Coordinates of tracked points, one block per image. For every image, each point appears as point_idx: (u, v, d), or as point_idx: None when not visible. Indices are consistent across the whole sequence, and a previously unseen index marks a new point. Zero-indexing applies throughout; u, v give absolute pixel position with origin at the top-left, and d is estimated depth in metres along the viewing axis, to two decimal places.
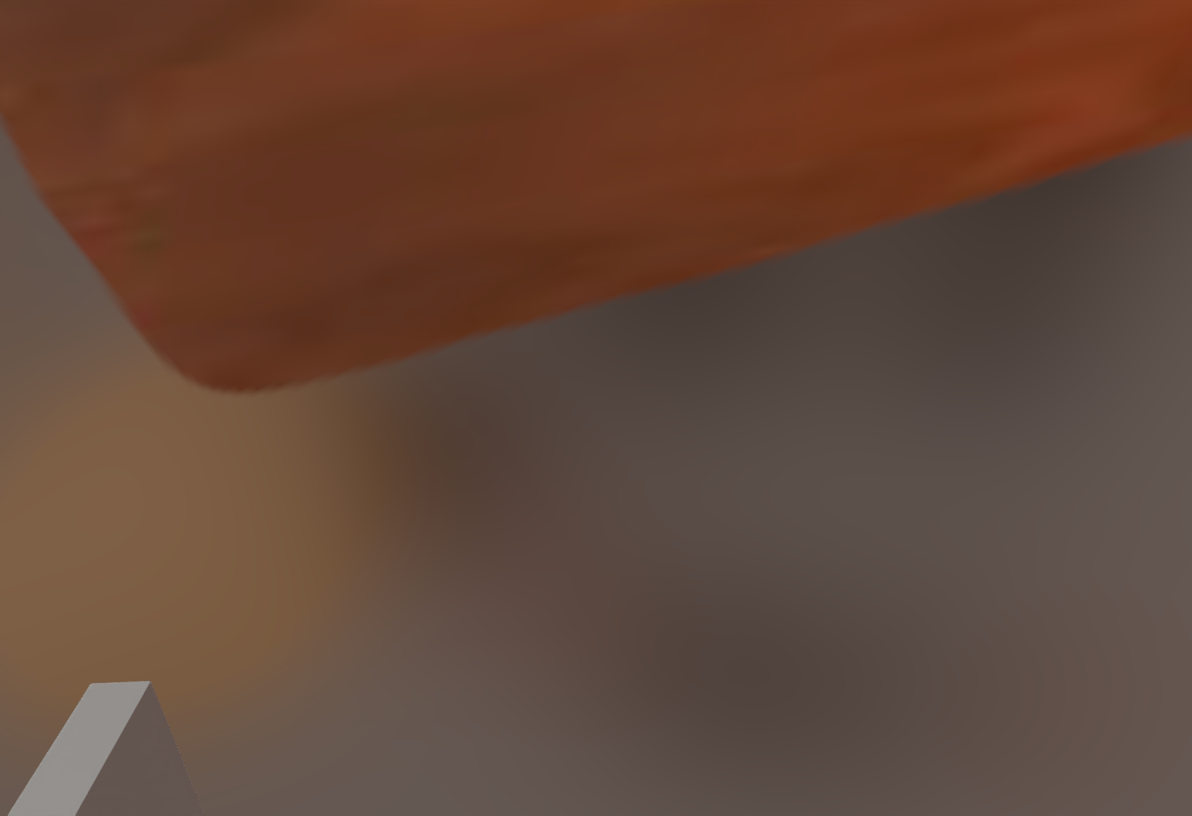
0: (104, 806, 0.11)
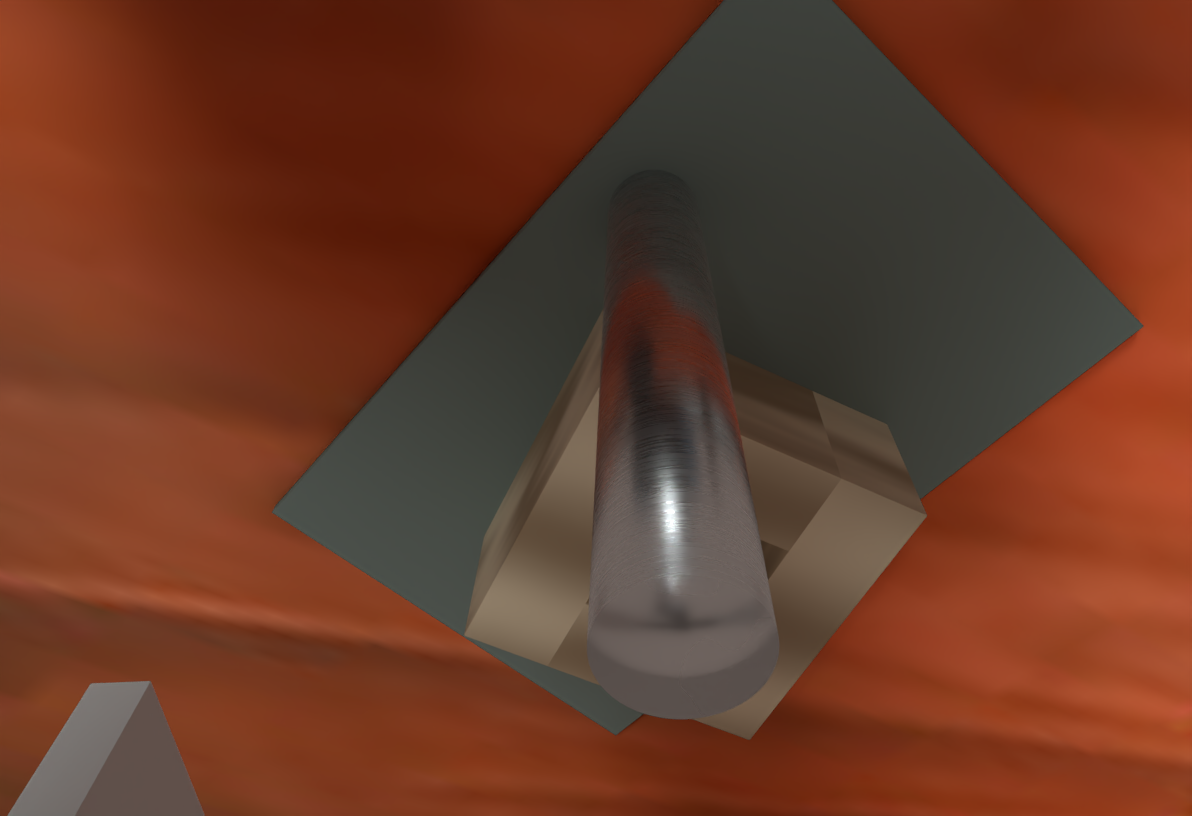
0: (104, 806, 0.11)
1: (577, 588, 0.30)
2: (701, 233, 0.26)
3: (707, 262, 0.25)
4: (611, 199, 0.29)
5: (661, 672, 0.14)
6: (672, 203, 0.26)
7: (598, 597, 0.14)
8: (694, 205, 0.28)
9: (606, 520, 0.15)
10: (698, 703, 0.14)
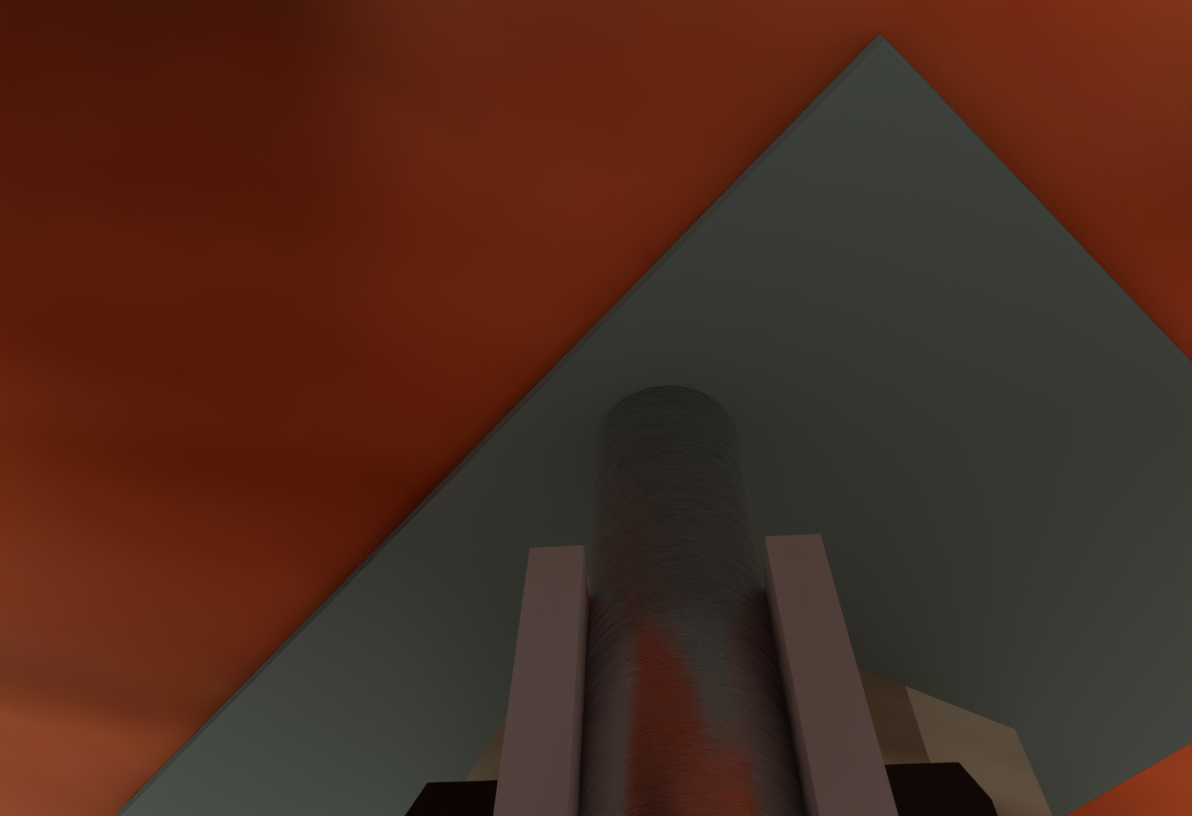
0: (580, 642, 0.13)
1: None
2: (752, 526, 0.15)
3: None
4: (601, 429, 0.18)
5: None
6: (702, 476, 0.15)
7: None
8: (736, 454, 0.17)
9: None
10: None
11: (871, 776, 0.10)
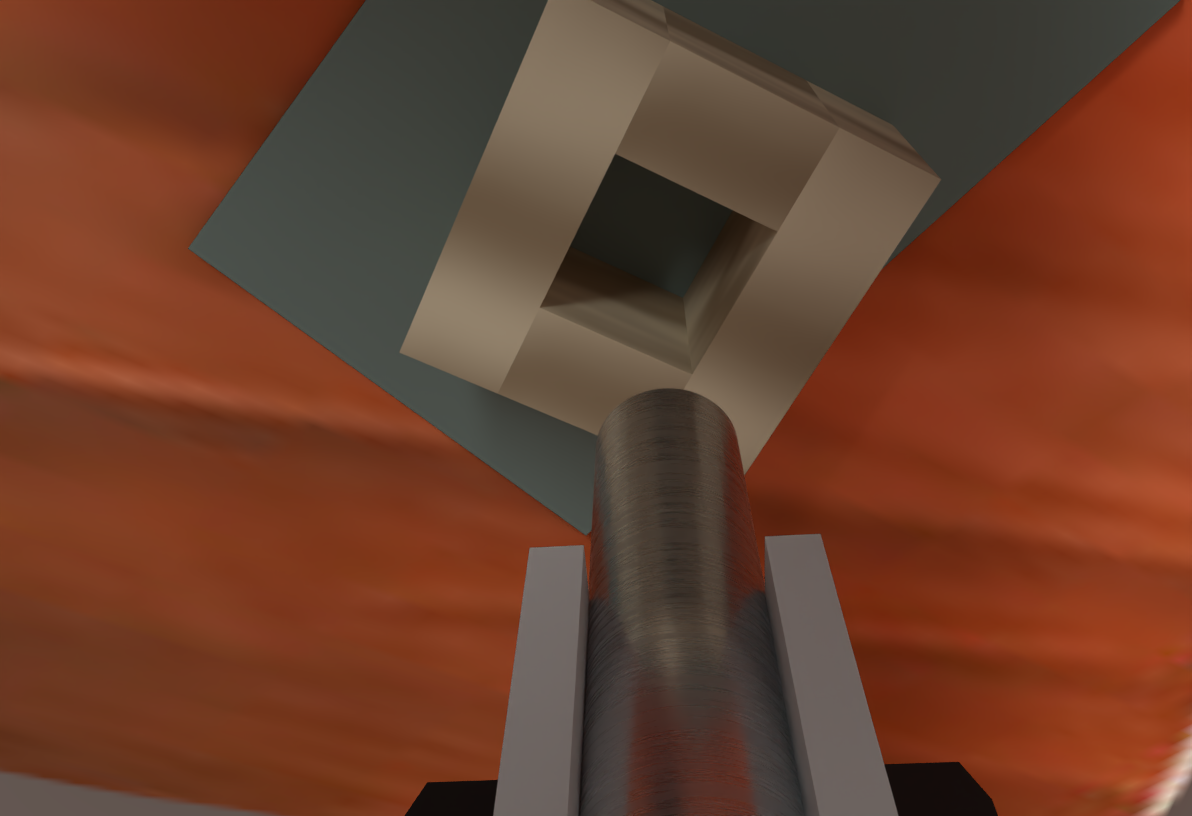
0: (580, 642, 0.13)
1: (529, 286, 0.25)
2: (752, 529, 0.15)
3: (768, 615, 0.14)
4: (600, 432, 0.18)
5: None
6: (702, 479, 0.15)
7: None
8: (736, 457, 0.17)
9: None
10: None
11: (871, 776, 0.10)
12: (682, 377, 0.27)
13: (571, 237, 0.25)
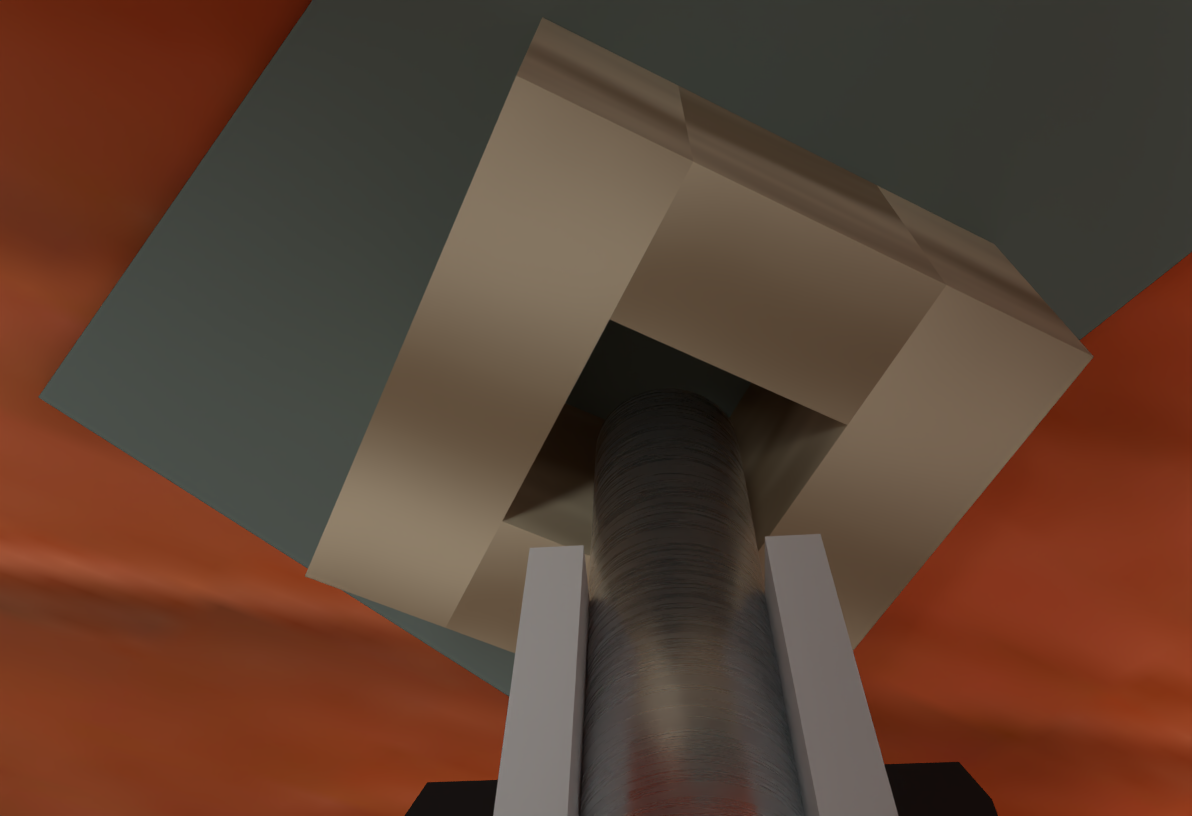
0: (580, 642, 0.13)
1: (487, 493, 0.18)
2: (752, 529, 0.15)
3: (768, 615, 0.14)
4: (601, 432, 0.18)
5: None
6: (702, 480, 0.15)
7: None
8: (736, 458, 0.17)
9: None
10: None
11: (871, 776, 0.10)
12: None
13: (546, 431, 0.17)
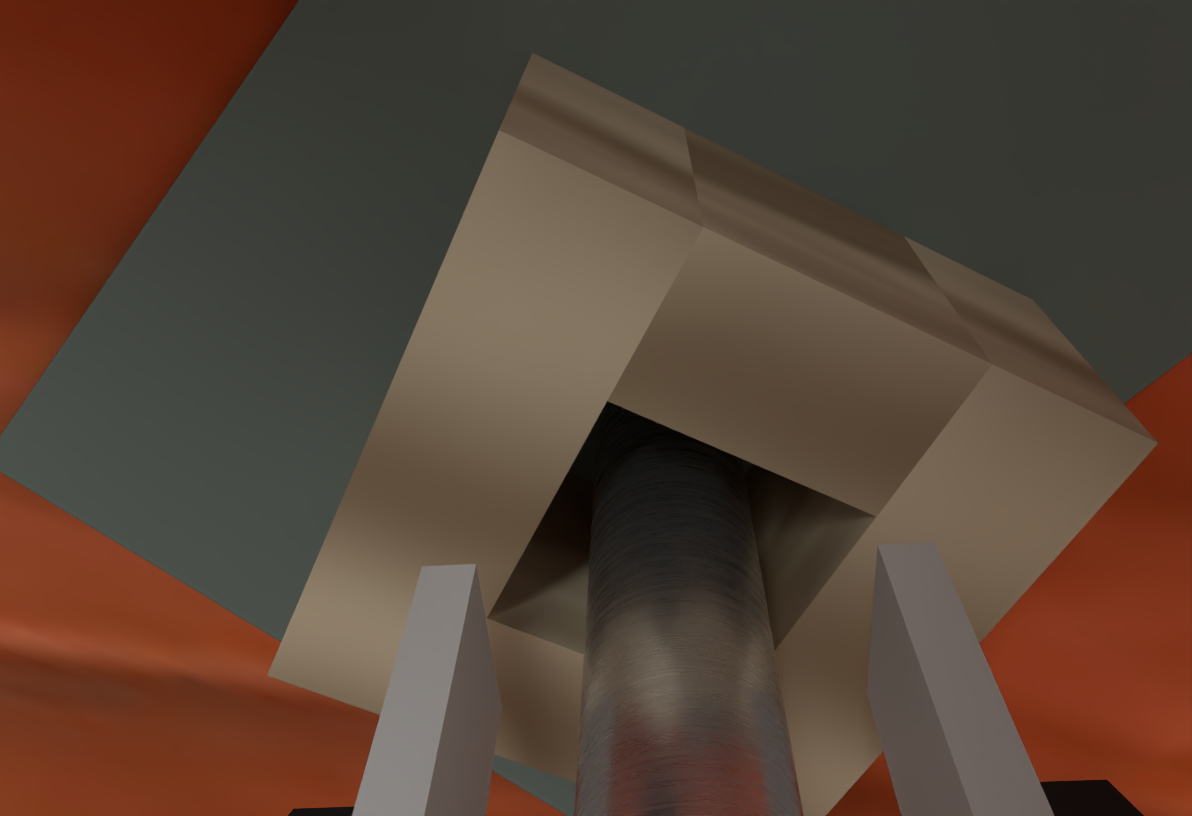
0: (464, 664, 0.13)
1: None
2: (742, 474, 0.17)
3: (755, 547, 0.15)
4: None
5: None
6: None
7: None
8: None
9: None
10: None
11: (1028, 796, 0.10)
12: None
13: (535, 521, 0.15)
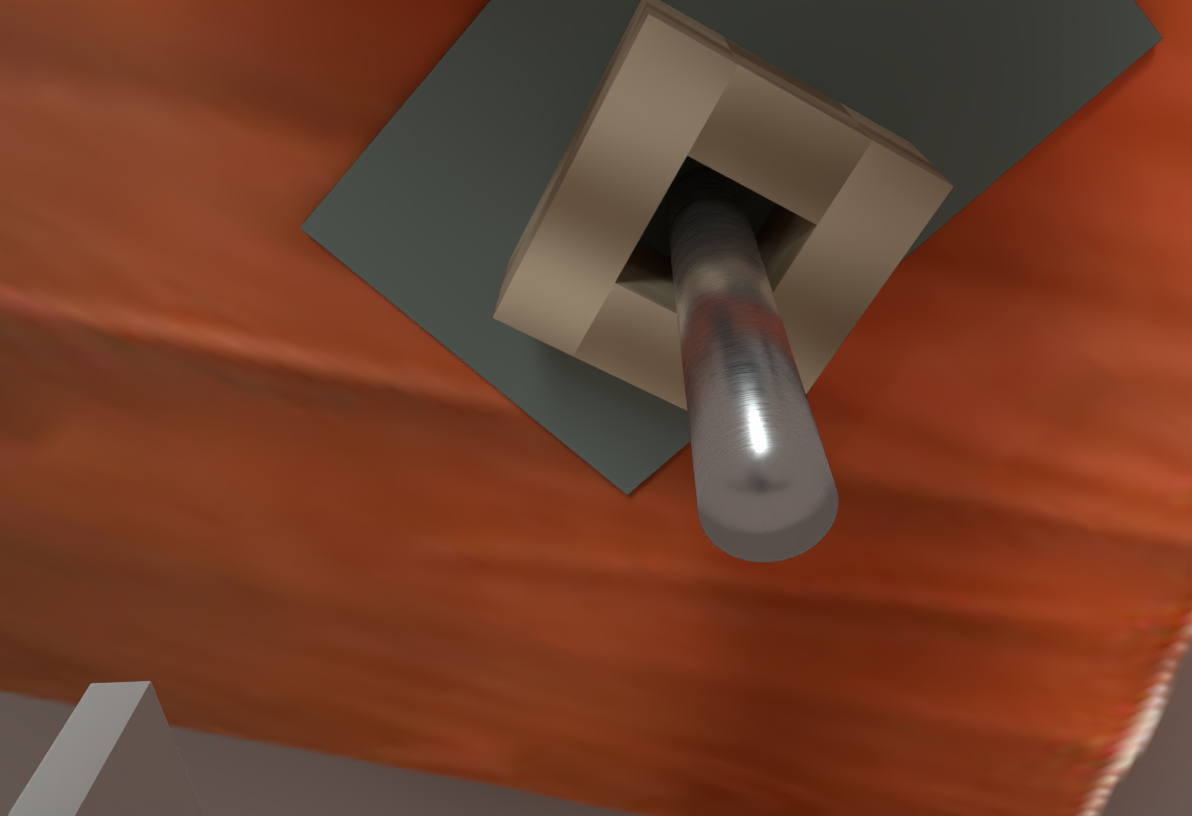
0: (104, 806, 0.11)
1: (607, 264, 0.30)
2: (749, 221, 0.32)
3: None
4: (669, 191, 0.34)
5: (751, 524, 0.19)
6: (725, 195, 0.31)
7: (708, 466, 0.19)
8: (741, 198, 0.33)
9: (707, 418, 0.20)
10: (775, 549, 0.19)
11: None
12: None
13: (645, 224, 0.30)
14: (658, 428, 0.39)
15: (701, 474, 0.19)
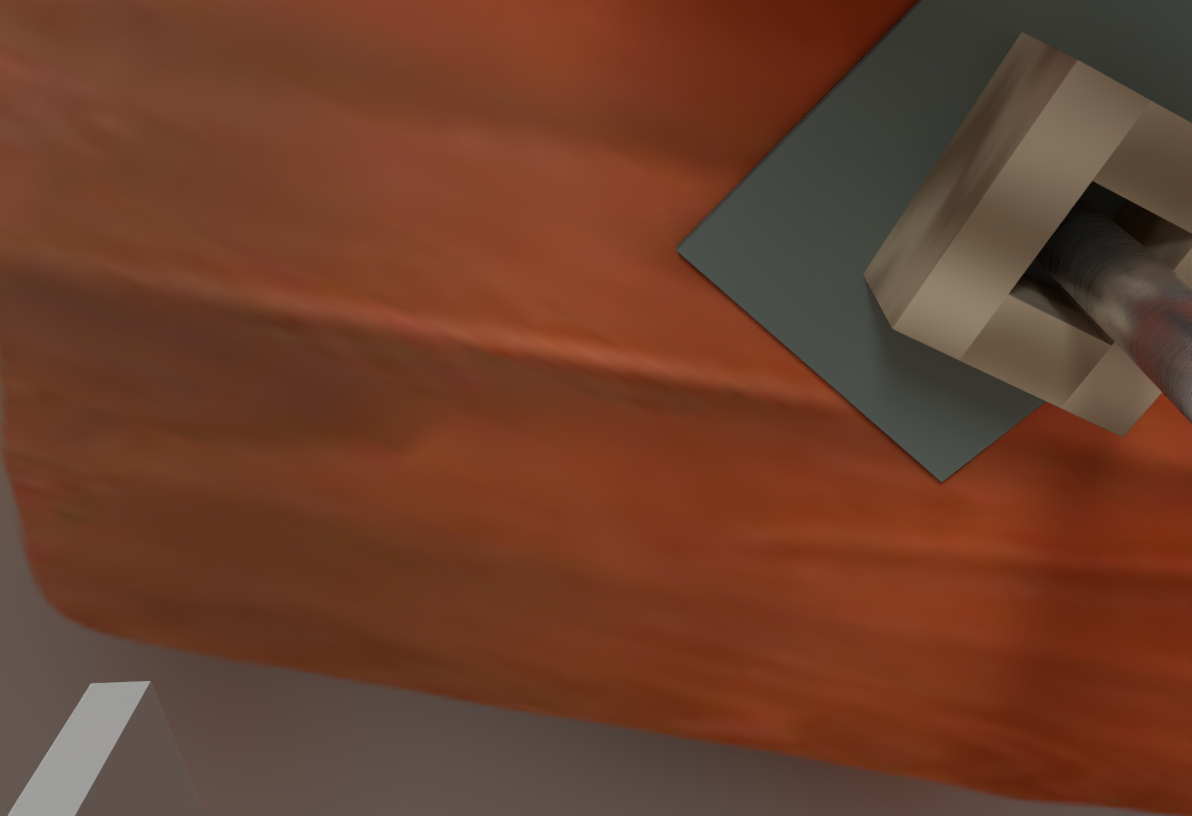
0: (104, 806, 0.11)
1: (1004, 278, 0.34)
2: None
3: None
4: None
5: None
6: (1097, 211, 0.35)
7: None
8: None
9: None
10: None
11: None
12: (1103, 347, 0.35)
13: (1044, 242, 0.33)
14: (979, 421, 0.43)
15: None
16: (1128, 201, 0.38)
